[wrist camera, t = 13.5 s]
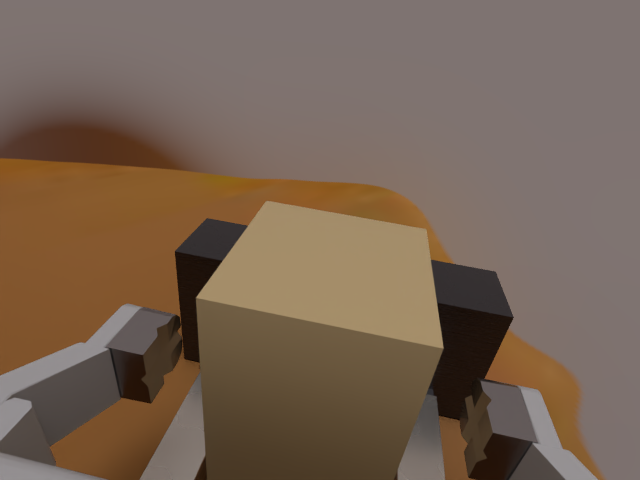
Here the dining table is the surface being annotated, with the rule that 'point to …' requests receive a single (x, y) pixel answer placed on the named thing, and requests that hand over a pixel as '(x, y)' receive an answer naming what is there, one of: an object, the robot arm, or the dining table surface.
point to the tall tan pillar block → (316, 347)
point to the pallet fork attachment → (443, 393)
